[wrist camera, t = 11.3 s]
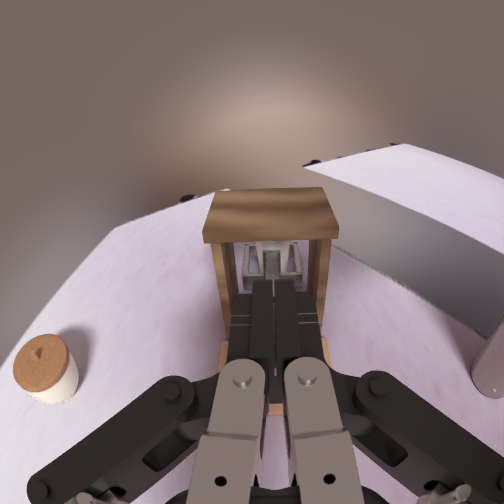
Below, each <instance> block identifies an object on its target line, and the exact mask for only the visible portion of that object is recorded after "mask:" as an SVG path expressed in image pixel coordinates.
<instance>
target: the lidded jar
mask: <svg viewBox="0 0 504 504" xmlns="http://www.w3.org/2000/svg"><path fill="white" fill-rule="evenodd" d="M13 374H14V378H15V380H16V382H17V383H18V384H19V385H20V386H21V387H22V388H23V389H24V390H25V391H26V392H27V393H29V394H30V395H31V396H32V397H33V398H35V399H37V400H38V401H40V402H43V403H46V404H53V405H54V404H60V403H65V402H67V401H69V400H70V399H71V398H72V397H73V396H74V394H75V392H76V389H77V386H78V381H79V373H78V368H77V364H76V362H75V360H74V358H73V356H72V354H71V352H70V351H69V349H68V347H67V345H66V344H65V342H64V341H63V340H62V339H61V338H60V337H59V336H56V335H53V334H43V335H40V336H37V337H35V338H33V339H31V340H30V341H28V342H27V343H26V344H25V345H24V346H23V347H22V348H21V349H20V351H19V352H18V354H17V356H16V358H15V361H14V364H13Z"/></svg>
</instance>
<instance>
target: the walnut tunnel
mask: <svg viewBox="0 0 504 504" xmlns="http://www.w3.org/2000/svg"><path fill="white" fill-rule="evenodd" d="M338 232H339V225H338V223H337V221H336V218H335V216H334V213H333V211H332V209H331V206H330V204H329V202H328V199H327V197H326V195H325V193H324V190H323V188H322V187H315V188H314V187H312V188H311V187H309V188H273V189H251V190H250V189H249V190H230V191H216V192H215V195H214V198H213V201H212V204H211V206H210V209H209V212H208V215H207V218H206V221H205V224H204V227H203V230H202V234H203V240H204V243H211V248H212V254H213V260H214V266H215V272H216V278H217V284H218V289H219V295H220V300H221V306H222V311H223V317H224V322H225V328H226V333H227V338H228V341H229V333H230V326H231V317H232V306H233V303H234V297H238V295H239V290H238V281H237V273H236V265H235V256H234V248H233V242H254V241H282V240H309V258H308V276H307V292H309V294H310V295H312V298H313V299H314V300H315V303H316V309H317V315H318V323H319V327H320V333H321V326H322V319H323V311H324V304H325V296H326V287H327V278H328V269H329V259H330V249H331V239H338Z"/></svg>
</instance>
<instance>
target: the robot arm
mask: <svg viewBox="0 0 504 504" xmlns="http://www.w3.org/2000/svg"><path fill="white" fill-rule="evenodd" d="M274 293H275V334H276V377H277V395H283V422H284V431H285V440H286V449H287V458H288V476H289V487H288V488H284V489H280V490H270V489H265V488H261V482H262V470H263V455H264V446H265V436H266V426H267V415H268V412H269V395H275V367H274V318H273V282H272V279H266V280H253V292H252V294H239V295H238V297H237V298H236V300H235V301H234V303H233V306H232V317H231V326H230V333H229V342H228V351H227V359H226V363H225V365H224V367H223V368H222V370H221V371H220V372H219V373H217V374H216V375H214V376H212V377H210V378H207V379H204V380H200V381H196V382H192V383H191V382H190V381H189V380H187V379H186V378H184V377H181V376H167V377H164V378H162V379H160V380H159V381H157V382H156V383H155V384H154V385H152V386H151V387H150V388H149V389H147V390H146V391H145V392H144V393H142V394H141V395H140V396H139V397H137V398H136V399H135V400H133V401H132V402H131V403H130V404H128V405H127V406H126V407H125V408H123V409H122V410H121V411H119V412H118V413H117V414H115V415H114V416H113V417H112V418H110V419H109V420H108V421H106V422H105V423H104V424H102V425H101V426H100V427H98V428H97V429H96V430H94V431H93V432H92V433H91V434H89V435H88V436H86V437H85V438H84V439H82V440H81V441H80V442H78V443H77V444H76V445H74V446H73V447H72V448H70V449H69V450H68V451H66V452H65V453H63V454H62V455H61V456H59V457H58V458H56V459H55V460H54V461H52V462H51V463H49V464H48V465H47V466H45V467H44V468H42V469H41V470H40V471H38V472H37V473H35V474H34V475H33V476H31V478H30V479H29V481H28V484H27V495H28V498H29V501H30V502H31V504H130V503H131V502H132V501H134V500H135V499H136V498H138V497H139V496H140V495H141V494H143V493H144V492H145V491H147V490H148V489H149V488H150V487H152V486H153V485H154V484H155V483H157V482H158V481H159V480H160V479H162V478H163V477H164V476H165V475H166V474H168V473H169V472H170V471H171V470H172V469H174V468H175V467H176V466H177V465H178V464H179V463H181V462H182V461H183V460H184V459H185V458H186V457H187V456H189V455H190V454H191V453H192V452H193V451H194V450H195V449H196V448H198V449H197V454H196V459H195V463H194V468H193V473H192V477H191V482H190V487H189V489H188V490H185V491H183V492H181V493H179V494H177V495H176V496H174V497H173V498H171V499H170V500H169V501H167V502H166V503H165V504H389V503H388V502H387V501H386V500H385V499H384V498H382V497H381V496H380V495H379V494H378V493H376V492H374V491H373V490H371V489H369V488H367V487H364V486H361V483H360V478H359V473H358V468H357V463H356V458H355V454H354V449H353V444H354V445H355V446H356V447H357V448H358V449H359V450H361V451H362V452H363V453H364V454H365V455H366V456H368V457H369V458H370V459H371V460H372V461H374V462H375V463H376V464H377V465H378V466H380V467H381V468H382V469H383V470H385V471H386V472H387V473H388V474H390V475H391V476H392V477H393V478H395V479H396V480H397V481H398V482H400V483H401V484H402V485H403V486H405V487H406V488H407V489H409V490H410V491H411V492H412V493H414V494H415V495H416V496H418V497H419V499H418V501H417V503H416V504H504V457H502V456H501V455H500V454H498V453H497V452H495V451H494V450H493V449H491V448H490V447H488V446H487V445H486V444H484V443H483V442H481V441H480V440H479V439H477V438H476V437H475V436H473V435H472V434H470V433H469V432H468V431H466V430H465V429H464V428H462V427H461V426H459V425H458V424H457V423H455V422H454V421H453V420H451V419H450V418H449V417H447V416H446V415H444V414H443V413H442V412H440V411H439V410H438V409H436V408H435V407H434V406H432V405H431V404H430V403H428V402H427V401H426V400H424V399H423V398H421V397H420V396H419V395H417V394H416V393H415V392H413V391H412V390H411V389H409V388H408V387H407V386H405V385H404V384H403V383H401V382H400V381H399V380H397V379H396V378H395V377H393V376H392V375H390V374H389V373H387V372H384V371H370V372H367V373H365V374H364V375H362V376H361V377H354V376H349V375H344V374H341V373H338V372H336V371H335V370H333V369H332V368H331V367H330V366H329V365H328V364H327V362H326V360H325V358H324V353H323V346H322V340H321V333H320V327H319V323H318V315H317V309H316V303H315V300H314V299H313V298H312V296H311V295H310V294H309V292H295V287H294V279H293V278H292V279H274ZM471 375H472V379H473V382H474V384H475V386H476V387H477V389H478V390H479V391H480V392H481V393H483V394H484V395H485V396H488V397H490V398H501V397H504V313H503V315H502V317H501V319H500V321H499V322H498V324H497V326H496V327H495V329H494V331H493V332H492V334H491V336H490V337H489V339H488V340H487V342H486V344H485V345H484V346H483V348H482V350H481V351H480V353H479V354H478V356H477V357H476V359H475V360H474V362H473V364H472V368H471Z"/></svg>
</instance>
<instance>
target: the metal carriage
mask: <svg viewBox="0 0 504 504" xmlns="http://www.w3.org/2000/svg"><path fill="white" fill-rule="evenodd" d="M289 257H293V259H294V267H295V272H281V256H280V250H263V269H264V273H250V274H249V270H250V258H258V257H257V251H256V245H255V244H246V245H245V256H244V267H243V285H244V289H253V280H266V279H272V282H273V318H274V343H275V342H276V334H275V293H274V279H292V278H293V279H294V287H301V284H302V272H301V265H300V259H299V252H298V246H297V242H292V243H290V247H289ZM311 296H312V295H311ZM236 298H237V297H234V301H235V300H236Z"/></svg>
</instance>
